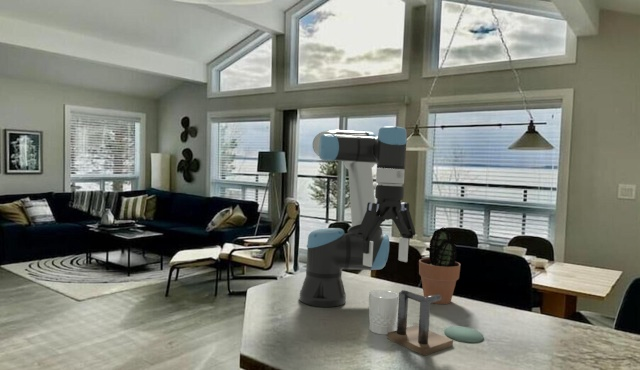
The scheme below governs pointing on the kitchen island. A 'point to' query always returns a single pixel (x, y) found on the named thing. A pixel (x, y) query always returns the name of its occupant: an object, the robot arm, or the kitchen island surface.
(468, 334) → the end coaster
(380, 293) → the white cup
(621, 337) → the kitchen island surface
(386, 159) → the robot arm
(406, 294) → the bent wire
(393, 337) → the brown wooden board
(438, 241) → the potted plant
